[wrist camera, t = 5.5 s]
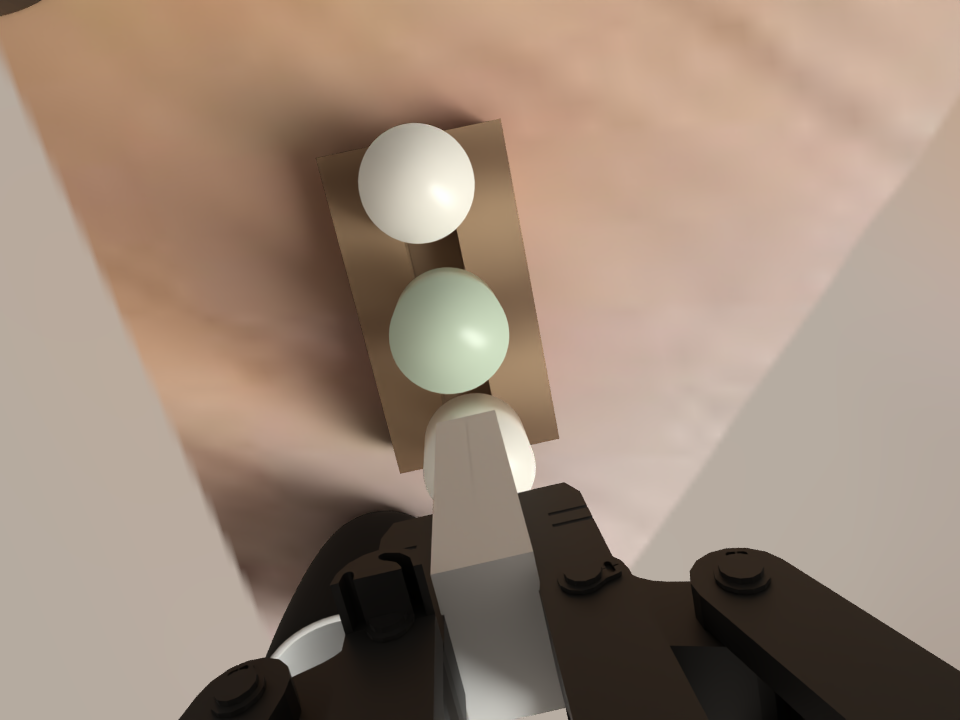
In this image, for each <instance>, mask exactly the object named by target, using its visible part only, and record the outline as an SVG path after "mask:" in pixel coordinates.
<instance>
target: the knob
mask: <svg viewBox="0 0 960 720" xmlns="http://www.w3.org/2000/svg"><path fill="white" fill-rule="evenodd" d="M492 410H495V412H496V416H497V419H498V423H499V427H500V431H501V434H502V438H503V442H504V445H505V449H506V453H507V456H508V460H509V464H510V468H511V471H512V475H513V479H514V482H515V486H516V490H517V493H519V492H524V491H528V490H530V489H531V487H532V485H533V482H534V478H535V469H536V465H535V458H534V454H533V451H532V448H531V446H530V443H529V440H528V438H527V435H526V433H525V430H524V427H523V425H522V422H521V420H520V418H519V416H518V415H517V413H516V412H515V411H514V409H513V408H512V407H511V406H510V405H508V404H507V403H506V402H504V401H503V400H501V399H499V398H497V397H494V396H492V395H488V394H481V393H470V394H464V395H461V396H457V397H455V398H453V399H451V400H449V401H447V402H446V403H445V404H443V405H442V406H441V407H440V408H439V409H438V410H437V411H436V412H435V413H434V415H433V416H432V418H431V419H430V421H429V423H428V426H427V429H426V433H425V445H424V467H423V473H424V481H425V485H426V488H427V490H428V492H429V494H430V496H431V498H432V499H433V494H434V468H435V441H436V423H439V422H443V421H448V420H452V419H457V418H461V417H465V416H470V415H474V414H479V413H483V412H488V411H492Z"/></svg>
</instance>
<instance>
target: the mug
mask: <svg viewBox="0 0 960 720" xmlns="http://www.w3.org/2000/svg"><path fill="white" fill-rule="evenodd" d="M414 518H415V517H412V516H410V515H407V514H404V513H400V512H393V511H380V512H373V513H369V514H366V515H363V516H360V517H358V518H356V519H354V520H352V521H350V522H348V523H347V524H345V525H344V526H343V527H341V528H340V529H339V530H338V531H337V532H336V533H335V534H333V535H332V536H331V538H330V539H329V540H328V541H327V542H326V544H325V545H324V546H323V547H322V549H321V550H320V551H319V553H318V554H317V556H316V557H315V559H314V560H313V562H312V563H311V565H310V567H309V568H308V570H307V571H306V573H305V575H304V577H303V578H302V580H301V582H300V584H299V586H298V588H297V590H296V592H295V594H294V595H293V597H292V599H291V601H290V603H289V605H288V607H287V609H286V611H285V613H284V616H283V618H282V620H281V622H280V624H279V626H278V629H277V631H276V633H275V636H274V638H273V640H272V643H271V645H270V648H269V650H268V653H267V655H266V658H274V659H280V660H281V661H282V662H284V663H285V664H286V665H287V666H288V667H289V670H290V673H291V676H292V677H293V676H295V675H297V674H300V673H302V672H304V671H306V670H308V669H310V668H313V667H315V666H317V665H319V664H321V663H323V662H325V661H327V660H328V659H330V658H332V657H334V656H335V655H337V654H338V653H339V652H341V651H342V647H343V642H344V638H345V632H344V629H343V626H342V623H341V620H340V616H339V613H338V610H337V607H336V604H335V601H334V597H333V594H332V591H331V588H330V584H331V582H332V580H333V579H334V577H335V575H336V574H337V573H338V572H339V571H340V570H341V569H343V568H344V567H345V566H346V565H347V564H348V563H350V562H352V561H354V560H355V559H357V558H359V557H361V556H363V555H365V554H368V553H371V552H374V551H377V550H379V547H380V542H381V538H382V537H383V536H384V535H385V533H386V532H387V531H388V530H389V528H390V527H391V526H392V525H393V523H396V522H401V521H405V520H410V519H414ZM466 716H467V720H469V717H468V713H467V709H466Z"/></svg>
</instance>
